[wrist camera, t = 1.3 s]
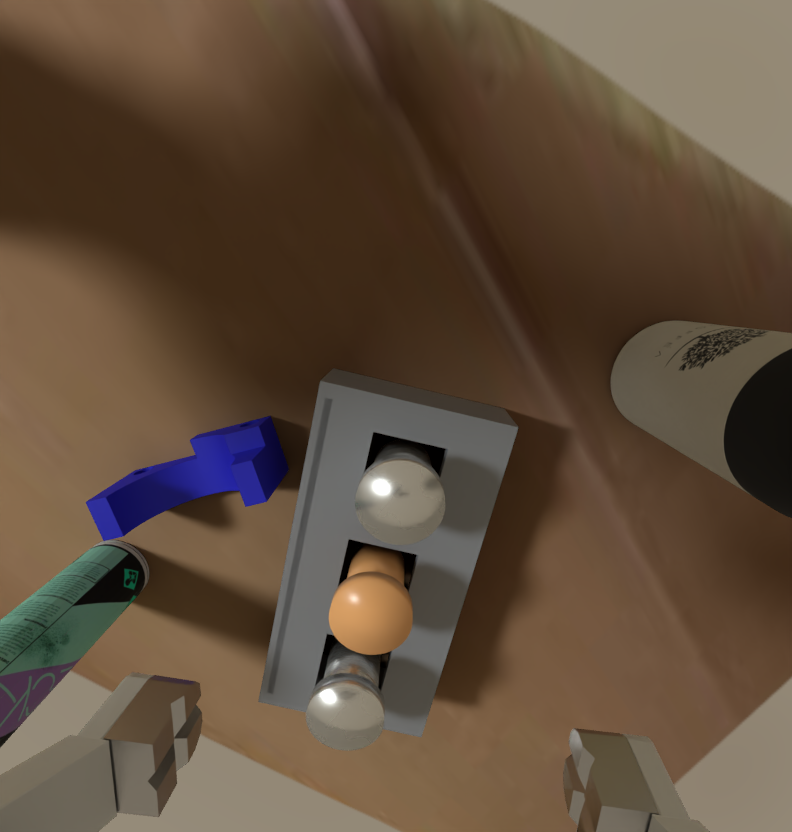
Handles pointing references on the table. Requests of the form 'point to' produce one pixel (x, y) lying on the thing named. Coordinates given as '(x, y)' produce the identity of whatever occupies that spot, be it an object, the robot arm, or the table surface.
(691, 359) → the travel mug
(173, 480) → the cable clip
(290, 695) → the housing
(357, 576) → the orange knob
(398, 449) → the near knob
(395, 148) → the table surface
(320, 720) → the far knob
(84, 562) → the spray can
